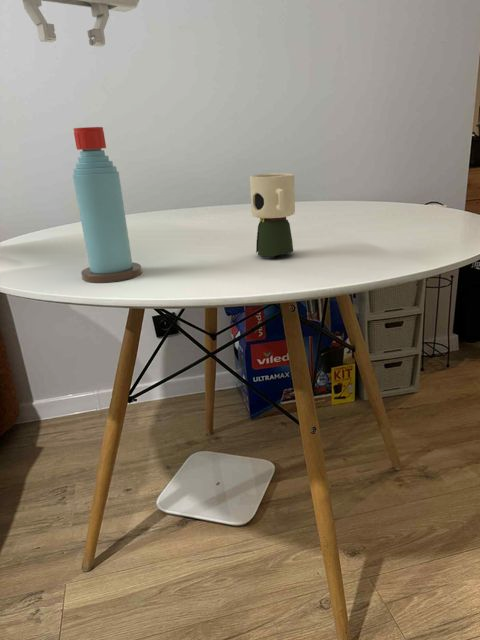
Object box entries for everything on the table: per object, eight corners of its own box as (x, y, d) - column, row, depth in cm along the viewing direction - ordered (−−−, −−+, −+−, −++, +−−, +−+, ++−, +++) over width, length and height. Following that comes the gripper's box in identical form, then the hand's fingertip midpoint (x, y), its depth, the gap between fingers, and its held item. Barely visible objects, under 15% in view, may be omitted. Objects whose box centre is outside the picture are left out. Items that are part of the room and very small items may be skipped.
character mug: (247, 251, 89) (242, 174, 84) (285, 247, 91) (283, 171, 86) (263, 265, 79) (258, 178, 74) (305, 260, 81) (304, 175, 76)
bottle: (82, 269, 78) (56, 133, 70) (119, 261, 82) (98, 131, 74) (103, 275, 74) (77, 131, 66) (140, 267, 78) (120, 129, 70)
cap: (72, 149, 71) (68, 128, 70) (97, 148, 73) (94, 127, 72) (85, 149, 68) (81, 127, 67) (111, 147, 71) (108, 126, 70)
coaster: (72, 276, 78) (70, 270, 78) (123, 265, 84) (122, 259, 83) (99, 286, 72) (98, 279, 72) (153, 273, 78) (152, 266, 77)
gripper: (115, -64, 69) (130, 52, 74) (-49, -103, 56) (-16, 40, 61) (140, -78, 65) (154, 45, 70) (-32, -125, 52) (2, 31, 57)
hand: (73, 43), depth 66 cm, fingers open, 5 cm apart
